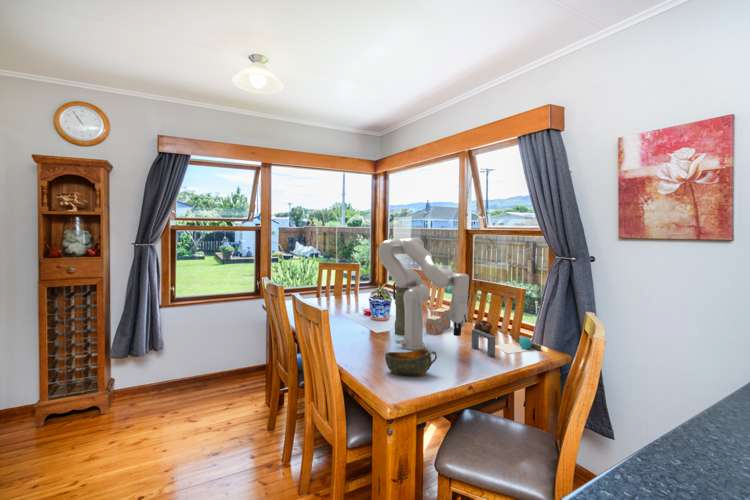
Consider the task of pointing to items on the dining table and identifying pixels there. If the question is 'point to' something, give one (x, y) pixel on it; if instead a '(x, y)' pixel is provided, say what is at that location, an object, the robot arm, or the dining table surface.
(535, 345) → the stopper wall
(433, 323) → the stack of blocks
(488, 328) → the decorative turtle
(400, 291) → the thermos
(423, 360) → the cup
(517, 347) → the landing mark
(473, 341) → the bridge
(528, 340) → the ball
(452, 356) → the dining table surface
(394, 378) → the dining table surface
